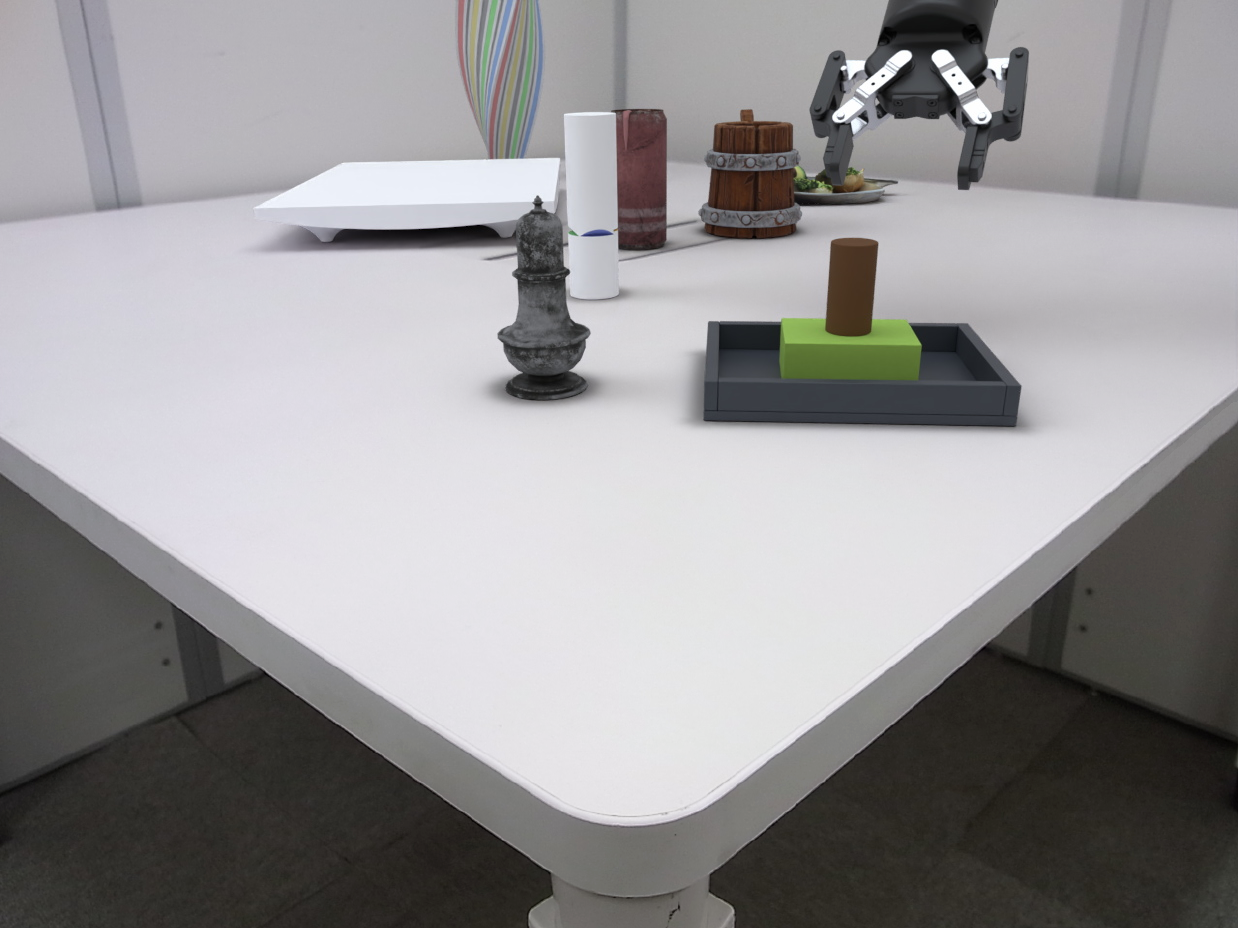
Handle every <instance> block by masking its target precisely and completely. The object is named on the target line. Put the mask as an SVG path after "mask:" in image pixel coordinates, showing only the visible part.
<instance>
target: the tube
mask: <svg viewBox="0 0 1238 928" xmlns="http://www.w3.org/2000/svg"><path fill="white" fill-rule="evenodd" d="M563 126H564V127H563V128H564V129H563V130H564V131H563V132H564V155H565V156H564V157H565V158H564V159H565V184H566V185H565V187H566V188H565V189H566V212H567V213H566V216H567V227H568V228H569V229H570V230H569V231H567V232H568V233H567V238H568V239H567V240H568V241H567V242H568V243H567V244H568V269H569V270H570V274H569V292H570V293H569V295H570V296H571V297H572V298H574V299H581V300H607V299H611V298H615V297H617V296H619V294H620V279H619V277H620V276H619V275H620V274H619V273H620V271H619V270H620V269H619V248H618V229H617V228H618V208H617V151H616V113H611V111H610V112H609V111H585V112H583V111H582V112H581V111H580V112H568V113H564V114H563Z"/></svg>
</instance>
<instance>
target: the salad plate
mask: <svg viewBox="0 0 1238 928" xmlns="http://www.w3.org/2000/svg"><path fill="white" fill-rule="evenodd" d="M864 171H865V168H862V169H861V170H856V169H855V167H854V166H851V167H848V170H847V173H846V177H845V181H844V184H843V185H832V182H831V177H827V175H826V170H825V168H824V169H822V170H821V171H820V172H818V173H817V174H816V175H815V176H807V173H806V170H805V169H804V168H803V167H802V166H801V165H800V164H799V165H798V166H796V167H794V168H793V175H794V202H795V203H797V204H798V205H799V206H801V205H802V206H808V205H809V206H811V205H824V206H825V205H846V204H847V205H848V204H864V203H871V202H875V201H878V200H879V199H880V197H881V196H883V194H885V192H886V190H885V187H888V186H893V185H898V184H899V180H893V179H881V178H868V177H865V175H864Z"/></svg>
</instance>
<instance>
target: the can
mask: <svg viewBox="0 0 1238 928" xmlns="http://www.w3.org/2000/svg"><path fill="white" fill-rule="evenodd" d="M610 112H611V113H616V151H617V208H618V228H617V229H618V249H621V250H629V251H631V250H633V251H634V250H635V251H639V250H640V251H642V250H654V249H659V248H663V246H664V245H665V244H666V241H667V238H668V237H667V233H668V232H667V230H668V229H667V227H668V226H667V225H668V224H667V223H668V218H667V217H668V213H667V212H668V209H667V207H668V202H667V201H668V200H667V199H668V197H667V196H668V195H667V194H668V192H667V191H668V190H667V189H668V118H667V116H666V114H665V112H664V109H661V108H622V109H621V108H620V109H613V110H611V111H610Z"/></svg>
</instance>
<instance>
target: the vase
mask: <svg viewBox="0 0 1238 928" xmlns="http://www.w3.org/2000/svg"><path fill="white" fill-rule="evenodd" d="M454 4H455V6H454V37H455V39H454V40H455V51H456V59H457V64H458V69H459V74H460V80H461V82H462V87H463V89H464V93H465V95H466V99H467V102H468V104H469V109H470V111H471V113H472V115H473V118H474V121H475V123H476V126H477V129H478V131H479V134H480V136H481V139H482V141H483V143H484V146H485V148H486V153H487V159H527V158H526V157H527V154H528V152H529V151H528V150H529V147H530V144H531V140H532V136H533V132H534V129H535V125H536V122H537V121H536V120H537V117H538V112H539V109H540V103H541V98H542V92H543V87H544V80H545V70H546V69H545V68H546V42H545V31H544V23H543V16H542V15H543V14H542V10H541V3H540V0H455V3H454Z"/></svg>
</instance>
